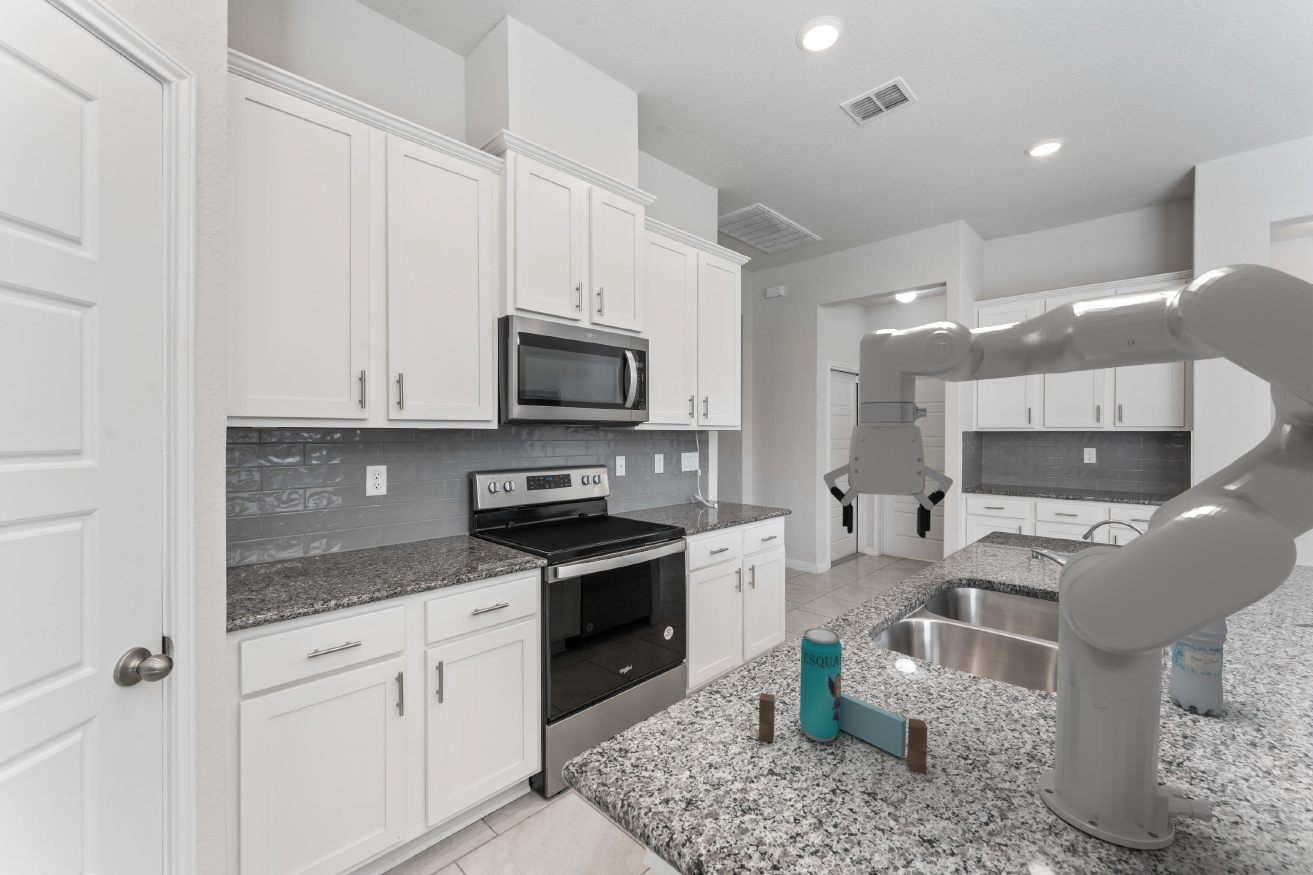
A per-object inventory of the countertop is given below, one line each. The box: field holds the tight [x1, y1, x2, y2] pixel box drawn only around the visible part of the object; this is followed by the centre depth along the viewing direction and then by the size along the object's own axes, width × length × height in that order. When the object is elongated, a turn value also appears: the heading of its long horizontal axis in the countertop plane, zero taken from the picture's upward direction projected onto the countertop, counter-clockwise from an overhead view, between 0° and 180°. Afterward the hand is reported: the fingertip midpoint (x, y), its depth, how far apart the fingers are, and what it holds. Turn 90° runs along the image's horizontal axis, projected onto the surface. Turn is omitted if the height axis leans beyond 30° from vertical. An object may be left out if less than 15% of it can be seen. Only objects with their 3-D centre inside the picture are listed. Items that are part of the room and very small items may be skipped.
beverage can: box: [799, 627, 843, 743], centre depth 81 cm, size 6×6×15 cm
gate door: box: [839, 691, 907, 759], centre depth 81 cm, size 16×1×5 cm, turn 40°
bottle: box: [1168, 618, 1228, 716], centre depth 90 cm, size 7×7×20 cm
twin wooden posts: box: [758, 692, 928, 774], centre depth 77 cm, size 22×2×6 cm, turn 72°
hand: (884, 533), depth 80 cm, fingers open, 9 cm apart
